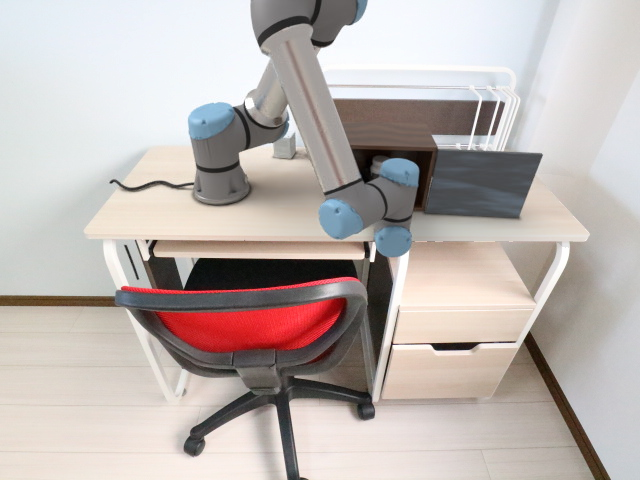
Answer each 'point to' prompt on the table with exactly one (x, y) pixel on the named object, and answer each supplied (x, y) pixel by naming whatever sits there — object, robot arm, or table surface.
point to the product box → (285, 146)
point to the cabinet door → (481, 182)
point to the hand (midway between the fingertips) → (378, 164)
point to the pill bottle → (377, 165)
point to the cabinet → (395, 149)
